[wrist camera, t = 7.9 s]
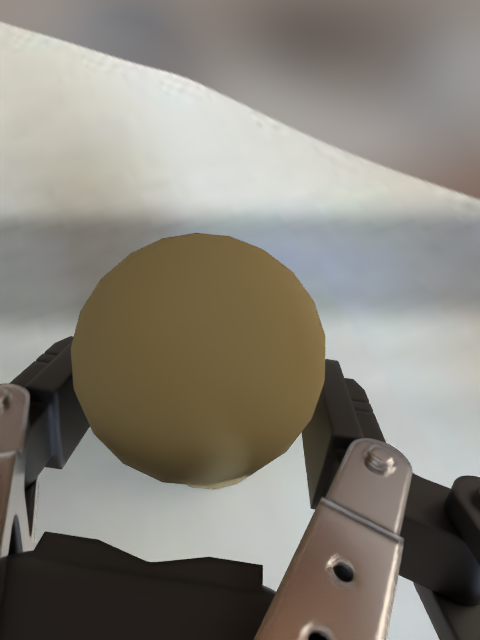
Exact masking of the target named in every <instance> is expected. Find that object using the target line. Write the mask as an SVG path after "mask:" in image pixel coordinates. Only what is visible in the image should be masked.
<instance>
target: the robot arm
mask: <svg viewBox="0 0 480 640" xmlns="http://www.w3.org/2000/svg"><path fill="white" fill-rule="evenodd" d="M73 338H74V337H72V336H70V337H68V338H66V339H63V340H61V341H59V342H56V343H55V344H53V345H52V346H51V347H50V348H49V349H48V350H47V351H46V352H45V354H42V355H41V356H40V357H39V358H38V359H37V360H36V362H35V361H34V362H33V363H32V364H31V365H30V366H29V367H27V368H26V369H25V370H24V371H23V372H22V373H21V374H20V375H18V376H17V377H16V378H15V379H14V380H13V381H12V382H11V383H9V384H0V640H386V639H387V633H388V628H389V623H390V617H391V612H392V606H393V601H394V595H395V590H396V585H397V579H398V575H400V576H402V577H404V578H407V579H409V580H411V581H413V583H414V585H415V588H416V590H417V592H418V594H419V596H420V599H421V601H422V603H423V605H424V607H425V609H426V611H427V614H428V616H429V618H430V620H431V622H432V624H433V626H434V629H435V631H436V633H437V635H438V637H439V639H440V640H480V477H476V476H461V477H459V478H457V479H456V480H455V481H454V483H453V486H452V488H451V489H450V488H447V487H444V486H442V485H439V484H437V483H434V482H431V481H429V480H426V479H424V478H421V477H419V476H417V475H415V474H413V473H412V467H411V465H410V463H409V461H408V460H407V458H406V457H405V456H404V455H403V454H402V453H401V452H400V451H398V450H397V449H396V448H394V447H393V446H391V445H389V444H387V443H386V442H385V439H384V437H383V434H382V432H381V430H380V427H379V425H378V422H377V420H376V417H375V415H374V413H373V410H372V407H371V405H370V404H369V400H368V398H367V395H366V393H365V390H364V389H363V388H362V387H361V386H360V385H359V384H358V383H357V382H356V381H355V380H354V379H348V378H344V376H343V373H342V370H341V368H340V365H339V362H338V361H335V360H328V359H325V381H324V385H323V387H322V390H321V393H320V396H319V399H318V402H317V405H316V408H315V411H314V413H313V416H312V419H311V420H310V422H309V423H308V424H307V426H306V427H305V428H304V429H303V431H302V439H303V447H304V456H305V464H306V472H307V481H308V489H309V497H310V505H311V509H316V510H315V512H314V514H313V516H312V518H311V520H310V522H309V525H308V527H307V529H306V531H305V533H304V535H303V537H302V539H301V541H300V544H299V546H298V548H297V550H296V552H295V554H294V556H293V558H292V560H291V562H290V565H289V567H288V569H287V571H286V573H285V575H284V577H283V579H282V581H281V583H280V586H279V588H278V590H277V592H276V591H274V590H272V589H270V588H268V587H266V586H264V585H262V584H263V565H258V564H251V563H245V562H238V561H232V560H226V559H219V558H213V557H204V558H193V559H183V560H173V561H163V562H147V561H144V560H142V559H140V558H137V557H135V556H133V555H131V554H129V553H126V552H124V551H122V550H120V549H118V548H115V547H113V546H111V545H109V544H107V543H104V542H102V541H100V540H97V539H90V538H84V537H77V536H71V535H64V534H58V533H52V532H44V534H43V536H42V537H41V539H40V541H39V542H38V544H37V546H36V548H35V549H34V539H35V527H36V514H37V502H38V489H39V482H38V475H39V474H40V472H41V471H42V470H43V468H44V467H49V468H56V469H62V468H63V466H64V465H65V463H66V462H67V460H68V459H69V457H70V456H71V454H72V453H73V451H74V450H75V448H76V447H77V445H78V443H79V442H80V440H81V439H82V437H83V436H84V434H85V433H86V431H87V430H88V428H89V427H90V425H89V422H88V420H87V418H86V416H85V413H84V411H83V409H82V407H81V405H80V402H79V400H78V398H77V396H76V393H75V391H74V386H73V373H72V360H71V346H72V342H73Z"/></svg>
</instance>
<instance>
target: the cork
mask: <svg viewBox="0 0 480 640" xmlns="http://www.w3.org/2000/svg"><path fill="white" fill-rule="evenodd" d="M71 360H72V373H73V386H74V391H75V393H76V396H77V398H78V400H79V402H80V405H81V407H82V409H83V411H84V413H85V416H86V418H87V420H88V422H89V425H90V427H91V429H92V431H93V433H94V434H95V435H96V436H97V437H98V438H99V440H100V441H101V442H102V443H103V444H104V445H105V446H106V447H107V448H108V449H109V450H110V451H111V452H112V453H113V454H114V455H115V456H116V457H117V458H118V459H119V460H120V461H121V462H122V463H123V464H125V465H127V466H130V467H132V468H134V469H136V470H138V471H140V472H142V473H144V474H147V475H149V476H151V477H153V478H155V479H157V480H159V481H161V482H167V483H178V484H186V485H188V486H190V487H197V488H207V489H217V488H221V487H225V486H229V485H233V484H237V483H239V482H240V481H242V480H243V479H245V478H246V477H248V476H250V475H251V474H253V473H254V472H256V471H257V470H259V469H260V468H262V467H264V466H265V465H267V464H268V463H270V462H271V461H273V460H274V459H276V458H277V457H279V456H280V455H282V454H283V453H285V452H286V451H287V450H288V449H289V447H290V446H291V445H292V444H293V442H294V441H295V440H296V438H297V437H298V436H299V435H300V433H301V432H302V431H303V429H304V428H305V427H306V426H307V424H308V423H309V422H310V420H311V419H312V416H313V413H314V411H315V408H316V405H317V402H318V399H319V396H320V393H321V390H322V387H323V385H324V381H325V334H324V331H323V328H322V325H321V322H320V319H319V315H318V312H317V309H316V306H315V303H314V301H313V299H312V298H311V297H310V295H309V294H308V292H307V291H306V290H305V288H304V287H303V285H302V284H301V283H300V281H299V280H298V278H297V277H296V276H295V274H294V273H293V272H292V271H291V270H289V269H288V268H287V267H286V266H284V265H283V264H282V263H280V262H279V261H278V260H276V259H275V258H274V257H272V256H271V255H270V254H269V253H267V252H266V251H264V250H262V249H261V248H258V247H255V246H253V245H250V244H248V243H245V242H243V241H240V240H238V239H235V238H232V237H230V236H221V235H211V234H201V233H193V234H187V235H181V236H175V237H169V238H163V239H161V240H158V241H156V242H154V243H152V244H150V245H148V246H146V247H143V248H141V249H139V250H137V251H135V252H133V253H131V254H130V255H129V256H127V257H126V258H125V259H124V260H123V261H122V262H120V263H119V264H118V265H117V266H116V267H115V268H113V269H112V270H111V271H110V272H109V273H108V274H106V275H105V276H104V277H103V278H102V279H101V280H100V282H99V283H98V285H97V286H96V288H95V289H94V291H93V293H92V294H91V296H90V297H89V299H88V300H87V302H86V304H85V305H84V307H83V308H82V310H81V311H80V315H79V319H78V323H77V326H76V330H75V334H74V338H73V342H72V346H71Z"/></svg>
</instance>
